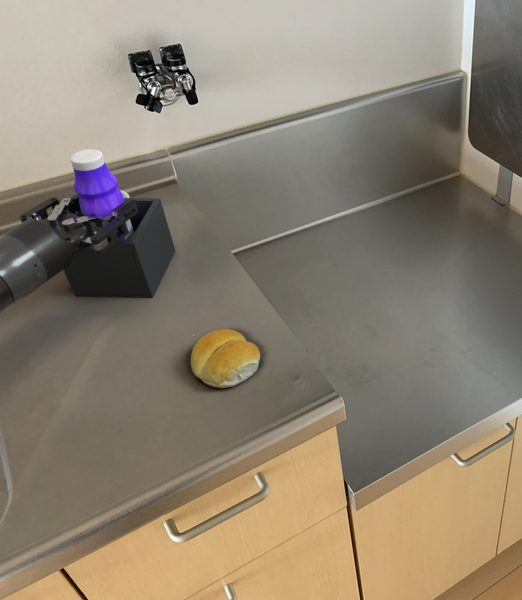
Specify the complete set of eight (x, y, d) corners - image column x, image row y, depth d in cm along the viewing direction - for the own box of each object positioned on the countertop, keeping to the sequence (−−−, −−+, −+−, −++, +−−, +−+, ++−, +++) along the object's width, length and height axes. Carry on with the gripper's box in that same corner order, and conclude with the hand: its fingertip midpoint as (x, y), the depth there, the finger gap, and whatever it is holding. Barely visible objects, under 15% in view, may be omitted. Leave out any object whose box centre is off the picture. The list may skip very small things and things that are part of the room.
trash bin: (75, 296, 91) (50, 241, 84) (105, 250, 100) (84, 197, 93) (152, 297, 91) (133, 243, 84) (175, 251, 100) (160, 198, 93)
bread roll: (231, 332, 85) (226, 311, 83) (271, 365, 81) (267, 344, 78) (179, 363, 81) (172, 342, 78) (217, 400, 76) (211, 379, 74)
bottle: (103, 249, 95) (64, 146, 84) (141, 243, 97) (109, 141, 85) (101, 276, 90) (60, 171, 79) (141, 270, 92) (107, 165, 80)
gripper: (52, 251, 73) (147, 186, 84) (-34, 224, 77) (67, 165, 88) (73, 299, 78) (160, 231, 89) (-9, 271, 82) (84, 209, 93)
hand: (114, 198), depth 89 cm, fingers closed on bottle, 7 cm apart
